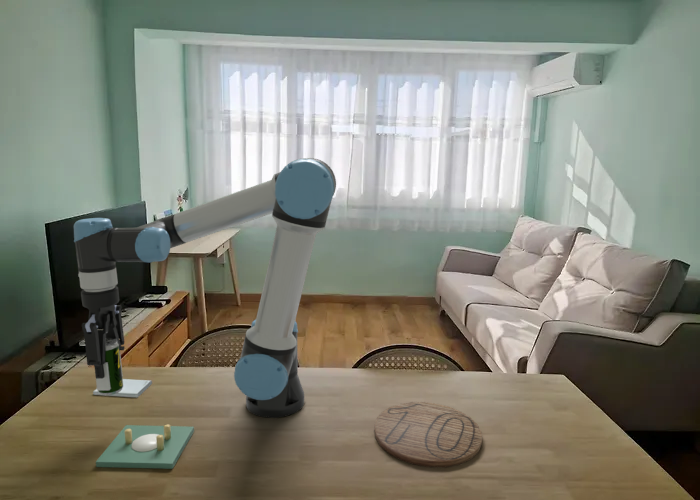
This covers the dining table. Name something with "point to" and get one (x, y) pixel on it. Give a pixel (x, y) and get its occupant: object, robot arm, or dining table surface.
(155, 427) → the board
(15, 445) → the dining table surface
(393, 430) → the trivet
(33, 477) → the dining table surface
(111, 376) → the beer can
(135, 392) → the hard drive
